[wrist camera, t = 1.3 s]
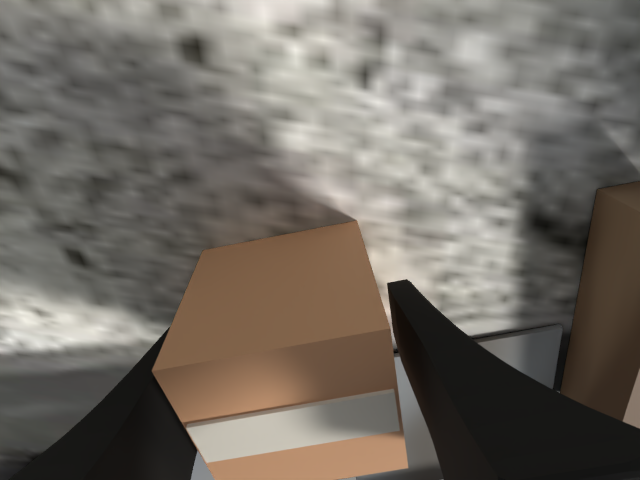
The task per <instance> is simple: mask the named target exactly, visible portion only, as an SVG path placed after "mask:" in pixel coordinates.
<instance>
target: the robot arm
mask: <svg viewBox="0 0 640 480" xmlns="http://www.w3.org/2000/svg"><path fill="white" fill-rule="evenodd" d="M387 286H388V294H389V302H390V310H391V318H392V326H393V333H394V337H395V340H396V344H397V348H398V351H399V355H400V358H401V362H402V365H403V367H404V370H405V372H406V375H407V377H408V380H409V382H410V385H411V387H412V390H413V392H414V395H415V397H416V400H417V402H418V405H419V407H420V410H421V412H422V415H423V417H424V420H425V422H426V425H427V427H428V430H429V433H430V436H431V439H432V441H433V444H434V448H435V451H436V454H437V458H438V461H439V464H440V468H441V471H442V474H443V478H444V480H640V429H639V428H637V427H635V426H632V425H630V424H628V423H625V422H623V421H620V420H618V419H616V418H613V417H611V416H609V415H606V414H604V413H601V412H599V411H597V410H594V409H592V408H590V407H588V406H585V405H583V404H581V403H579V402H577V401H575V400H573V399H571V398H569V397H567V396H565V395H563V394H561V393H558V392H556V391H555V390H553V389H551V388H549V387H547V386H545V385H543V384H542V383H540V382H538V381H536V380H535V379H533V378H531V377H529V376H527V375H526V374H524V373H522V372H520V371H518V370H517V369H515V368H514V367H512V366H511V365H509V364H507V363H506V362H504V361H503V360H501V359H500V358H498V357H497V356H495V355H494V354H492V353H491V352H489V351H488V350H486V349H485V348H484V347H482V346H481V345H480V344H478V343H477V342H475V341H474V340H473V339H472V338H470V337H469V336H468V335H467V334H465V333H464V332H463V331H461V330H460V329H459V328H458V327H457V326H455V325H454V324H453V323H452V322H451V321H450V320H449V319H447V318H446V317H445V316H444V315H443V314H442V313H441V312H440V311H438V310H437V309H436V308H435V307H434V306H433V305H432V304H431V303H430V302H429V301H428V300H427V299H426V298H425V297H424V296H423V295H422V294H421V293H420V292H419V291H418V290H417V289H416V287H415V286H414V285H413V284H412V283H411V282H410V281H408V280H407V279H406V280H401V281H395V282H390V283H387ZM170 327H171V326H170ZM170 327H169V328H168V330H167V331H166V332H165V333H164V334H163V335H162V336H161V337H160V338H159V339H158V341H157V342H156V343H155V344H154V345H153V346H152V347H151V349H150V350H149V351H148V352H147V353H146V354H145V355H144V356H143V357H142V359H141V360H140V361H139V362H138V363H137V364H136V365H135V366H134V367H133V369H132V370H131V371H130V372H129V373H128V374H127V375H126V376H125V377H124V378H123V379H122V380H121V381H120V382H119V383H118V384H117V385H116V386H115V388H114V389H113V390H112V391H111V392H110V393H109V394H108V395H107V396H106V397H105V398H104V399H103V400H102V401H101V402H100V403H99V404H98V405H97V406H96V407H95V408H94V409H93V410H92V411H91V412H90V413H88V414H87V415H86V416H85V417H84V418H83V419H82V420H81V421H80V422H79V423H78V424H76V425H75V426H74V427H73V428H72V429H71V430H70V431H69V432H67V433H66V434H65V435H64V436H63V437H62V438H61V439H59V440H58V441H57V442H56V443H54V444H53V445H52V446H51V447H49V448H48V449H47V450H46V451H45V452H43V453H42V454H41V455H40V456H38V457H37V458H36V459H35V460H33V461H32V462H31V463H30V464H28V465H27V466H26V467H25V468H23V469H22V470H21V471H19V472H18V473H17V474H15V475H14V476H13V477H11V478H10V479H9V480H190V479H191V474H192V470H193V466H194V461H195V457H196V454H197V448H196V446H195V445H194V443H193V441H192V439H191V438H190V436H189V434H188V433H187V431H186V429H185V427H184V426H183V424H182V422H181V421H180V419H179V417H178V415H177V414H176V412H175V410H174V409H173V407H172V405H171V403H170V402H169V400H168V398H167V397H166V395H165V393H164V391H163V390H162V388H161V386H160V385H159V383H158V381H157V379H156V378H155V376H154V374H153V373H152V369H153V367H154V364H155V362H156V360H157V357H158V355H159V353H160V350H161V348H162V346H163V343H164V341H165V338H166V336H167V334H168V331H169V329H170Z"/></svg>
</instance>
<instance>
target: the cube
mask: <svg viewBox="0 0 640 480" xmlns="http://www.w3.org/2000/svg"><path fill="white" fill-rule="evenodd" d="M152 373H153V374H154V376H155V378H156V379H157V381H158V383H159V385H160V386H161V388H162V390H163V391H164V393H165V395H166V397H167V398H168V400H169V402H170V403H171V405H172V407H173V409H174V410H175V412H176V414H177V415H178V417H179V419H180V421H181V422H182V424H183V426H184V427H185V429H186V431H187V433H188V434H189V436H190V438H191V439H192V441H193V443H194V445H195V446H196V448H197V450H198V451H199V453H200V455H201V456H202V458H203V460H204V462H205V463H206V465H207V467H208V468H209V470H210V472H211V473H212V475H213V477H214V478H215V480H338V479H343V478H350V477H356V476H362V475H368V474H375V473H381V472H387V471H393V470H399V469H405V468H408V461H407V453H406V446H405V438H404V430H403V423H402V415H401V407H400V399H399V392H398V384H397V376H396V369H395V361H394V353H393V346H392V338H391V330H390V326H389V323H388V319H387V316H386V313H385V310H384V307H383V303H382V300H381V297H380V294H379V291H378V287H377V284H376V281H375V278H374V274H373V271H372V268H371V265H370V262H369V258H368V255H367V252H366V249H365V245H364V242H363V239H362V236H361V233H360V229H359V226H358V223H357V221H352V222H346V223H341V224H336V225H331V226H326V227H320V228H315V229H310V230H305V231H300V232H295V233H289V234H284V235H279V236H274V237H269V238H264V239H258V240H253V241H248V242H243V243H238V244H233V245H227V246H222V247H217V248H212V249H207V250H203V251H202V253H201V256H200V258H199V260H198V263H197V265H196V268H195V270H194V272H193V275H192V277H191V279H190V282H189V284H188V286H187V289H186V291H185V294H184V296H183V298H182V301H181V303H180V305H179V308H178V310H177V312H176V315H175V317H174V320H173V322H172V324H171V327H170V329H169V331H168V334H167V336H166V338H165V341H164V343H163V346H162V348H161V350H160V353H159V355H158V357H157V360H156V362H155V364H154V367H153V369H152Z"/></svg>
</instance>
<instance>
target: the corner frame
mask: <svg viewBox="0 0 640 480" xmlns="http://www.w3.org/2000/svg"><path fill="white" fill-rule="evenodd" d="M562 330H563V327H562V326H561V325H560V324H559V325H553V326H547V327H542V328H536V329H530V330H525V331H519V332H513V333H508V334H502V335H496V336H491V337H485V338H479V339H474V341H475V342H477V343H478V344H480V345H481V346H482V347H484V348H485V349H486V350H488V351H489V352H491V353H492V354H494V355H495V356H497V357H498V358H500V359H501V360H503V361H504V362H506V363H507V364H509V365H511V366H512V367H514V368H515V369H517V370H518V371H520V372H522V373H524V374H526V375H527V376H529V377H531V378H533V379H535V380H536V381H538V382H540V383H542V384H543V385H545V386H547V387H549V388H551V389H553V384H554V378H555V372H556V366H557V360H558V354H559V348H560V342H561V336H562ZM394 361H395V369H396V376H397V384H398V392H399V399H400V407H401V415H402V423H403V430H404V438H405V446H406V453H407V461H408V468H405V469H399V470H393V471H387V472H381V473H375V474H368V475H362V476H356V480H441V479H444V478H443V474H442V471H441V468H440V464H439V461H438V458H437V454H436V451H435V448H434V444H433V441H432V439H431V436H430V433H429V430H428V427H427V425H426V422H425V420H424V417H423V415H422V412H421V410H420V407H419V405H418V402H417V400H416V397H415V395H414V392H413V390H412V387H411V385H410V382H409V380H408V377H407V375H406V372H405V370H404V367H403V365H402V362H401V358H400V355H399V353H395V354H394ZM560 393H561V394H563V395H565V396H567V397H569V398H571V399H573V400H575V401H577V402H579V403H581V404H583V405H585V406H588V407H590V408H592V409H594V410H597V411H599V412H601V413H604V414H606V415H609V416H611V417H613V418H616V419H618V420H620V421H623V422H625V423H628V424H630V425H632V426H635V427H637V428H639V429H640V181H638V182H633V183H627V184H622V185H617V186H612V187H607V188H601V189H597V193H596V198H595V204H594V209H593V215H592V220H591V226H590V231H589V237H588V242H587V248H586V253H585V259H584V264H583V270H582V275H581V281H580V286H579V292H578V297H577V303H576V308H575V314H574V319H573V325H572V330H571V335H570V341H569V346H568V352H567V357H566V363H565V368H564V374H563V379H562V385H561V390H560Z"/></svg>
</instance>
